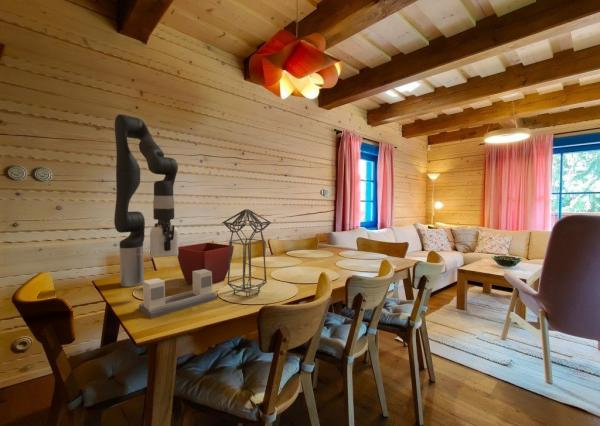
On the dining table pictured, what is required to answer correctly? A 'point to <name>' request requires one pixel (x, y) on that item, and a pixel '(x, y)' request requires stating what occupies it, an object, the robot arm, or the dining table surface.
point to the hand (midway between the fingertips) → (164, 249)
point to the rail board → (178, 303)
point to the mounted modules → (156, 288)
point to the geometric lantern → (241, 215)
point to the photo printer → (162, 244)
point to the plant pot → (204, 260)
